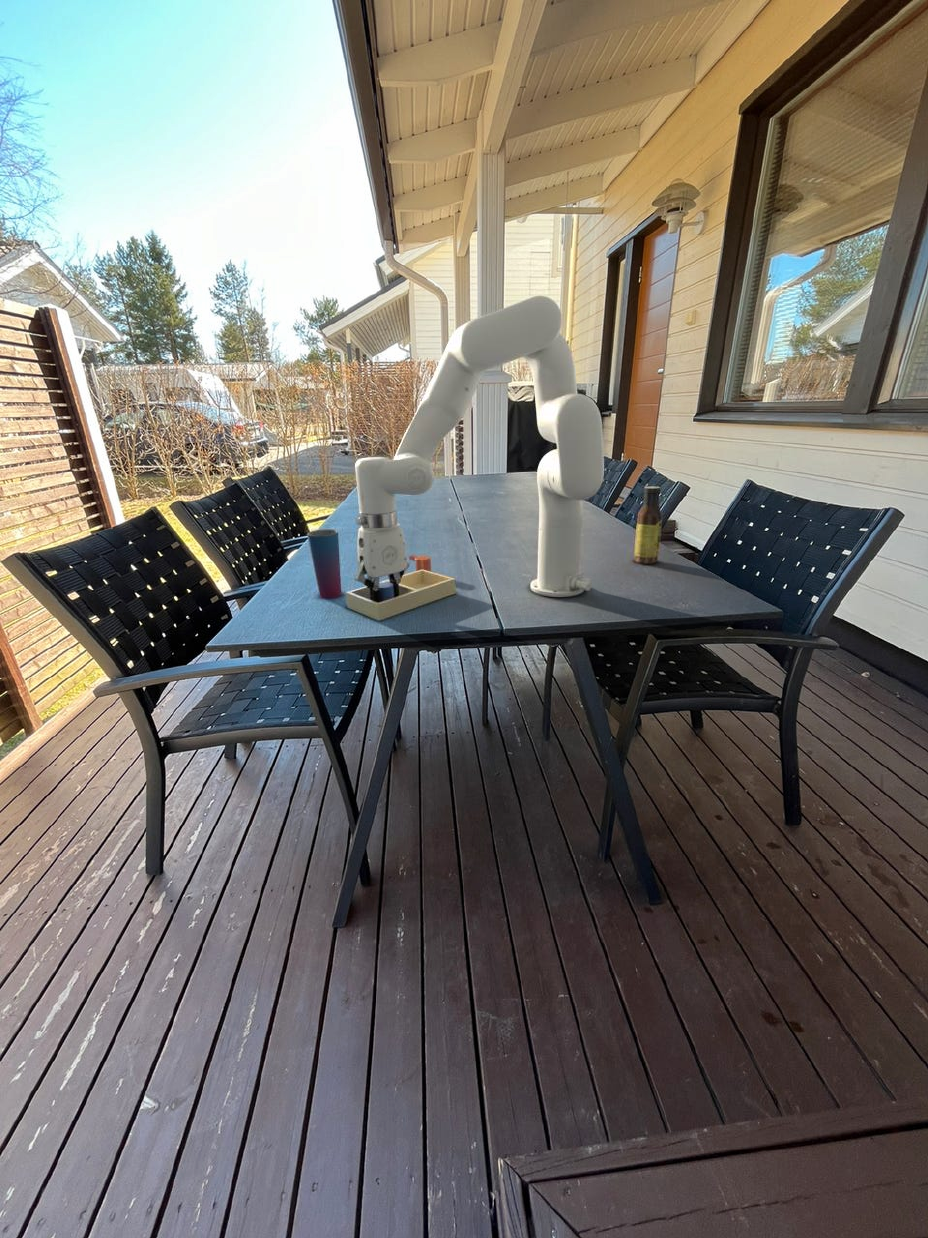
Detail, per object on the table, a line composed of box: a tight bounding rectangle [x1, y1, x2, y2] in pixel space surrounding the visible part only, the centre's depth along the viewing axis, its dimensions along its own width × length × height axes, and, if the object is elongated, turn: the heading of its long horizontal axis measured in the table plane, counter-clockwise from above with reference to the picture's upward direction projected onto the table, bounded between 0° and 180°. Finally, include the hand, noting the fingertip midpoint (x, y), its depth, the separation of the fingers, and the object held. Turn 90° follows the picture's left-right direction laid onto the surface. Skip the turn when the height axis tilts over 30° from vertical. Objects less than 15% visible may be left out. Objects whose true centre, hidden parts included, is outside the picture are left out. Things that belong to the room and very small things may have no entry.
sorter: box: [345, 569, 457, 622], centre depth 119 cm, size 12×22×4 cm, turn 135°
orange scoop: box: [408, 554, 432, 572], centre depth 137 cm, size 7×4×4 cm, turn 45°
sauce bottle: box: [633, 485, 663, 565], centre depth 139 cm, size 7×6×20 cm
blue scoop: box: [379, 581, 394, 602], centre depth 115 cm, size 7×4×4 cm, turn 45°
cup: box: [306, 528, 342, 599], centre depth 121 cm, size 7×7×15 cm
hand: (385, 602), depth 115 cm, fingers closed on blue scoop, 4 cm apart
